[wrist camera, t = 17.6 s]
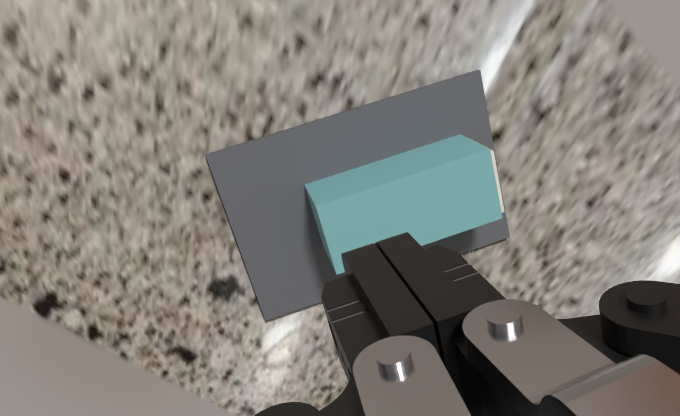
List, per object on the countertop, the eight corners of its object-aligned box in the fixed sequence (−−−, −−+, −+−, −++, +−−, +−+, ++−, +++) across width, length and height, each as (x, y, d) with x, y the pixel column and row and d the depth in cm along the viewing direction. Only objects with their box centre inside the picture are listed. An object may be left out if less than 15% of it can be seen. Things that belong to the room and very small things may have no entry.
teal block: (336, 274, 35) (507, 216, 37) (315, 206, 34) (494, 147, 35) (323, 246, 40) (476, 195, 41) (304, 184, 38) (464, 132, 39)
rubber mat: (265, 318, 41) (265, 321, 40) (205, 154, 37) (205, 156, 36) (507, 235, 43) (509, 237, 42) (477, 70, 38) (480, 70, 38)
